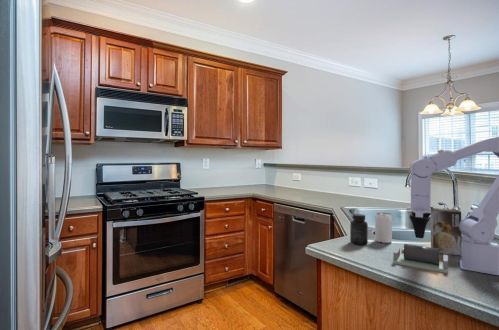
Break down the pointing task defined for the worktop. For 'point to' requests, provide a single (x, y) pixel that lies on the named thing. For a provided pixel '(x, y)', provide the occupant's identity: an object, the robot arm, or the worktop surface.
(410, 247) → the cell
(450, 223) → the coffee box
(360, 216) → the supplement bottle
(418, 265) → the holder
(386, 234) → the can
